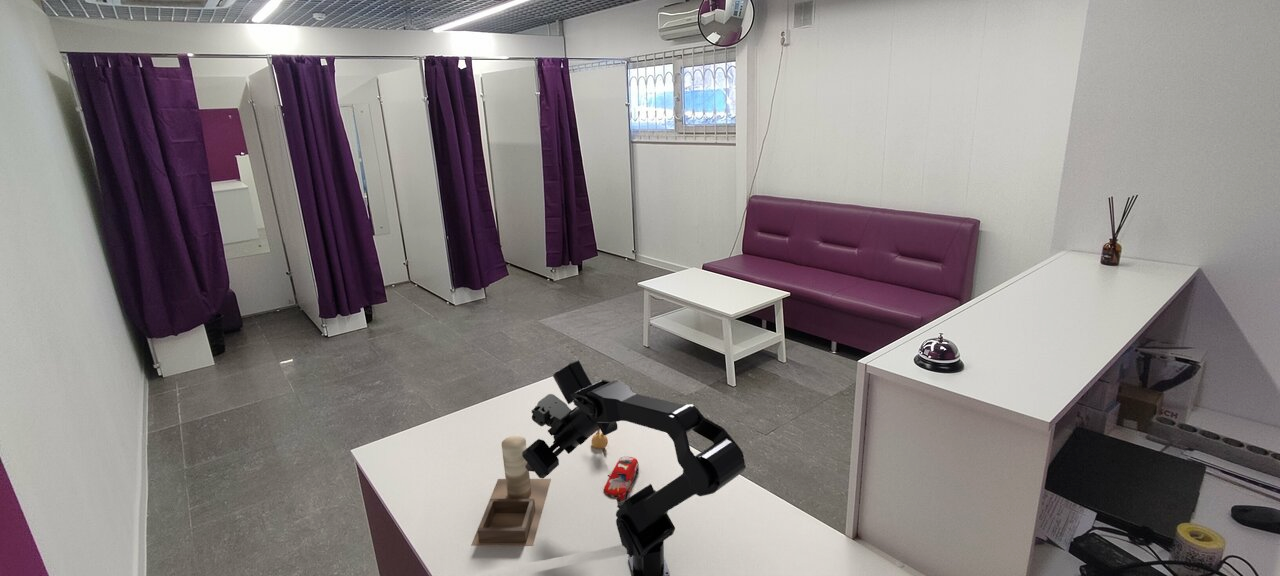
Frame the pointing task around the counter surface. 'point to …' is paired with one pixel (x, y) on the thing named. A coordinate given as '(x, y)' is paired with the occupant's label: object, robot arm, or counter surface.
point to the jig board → (512, 516)
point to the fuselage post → (516, 468)
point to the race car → (622, 478)
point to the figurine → (599, 440)
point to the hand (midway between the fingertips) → (541, 455)
